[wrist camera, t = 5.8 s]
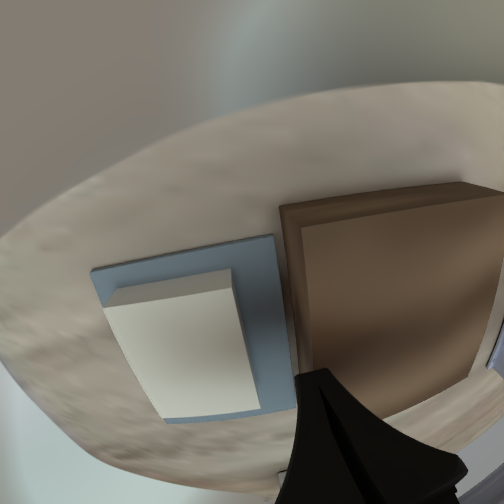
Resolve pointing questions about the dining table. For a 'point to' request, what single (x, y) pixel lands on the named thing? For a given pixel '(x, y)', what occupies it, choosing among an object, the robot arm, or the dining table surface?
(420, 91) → the dining table surface
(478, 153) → the dining table surface
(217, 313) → the tile
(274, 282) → the mat
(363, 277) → the block
